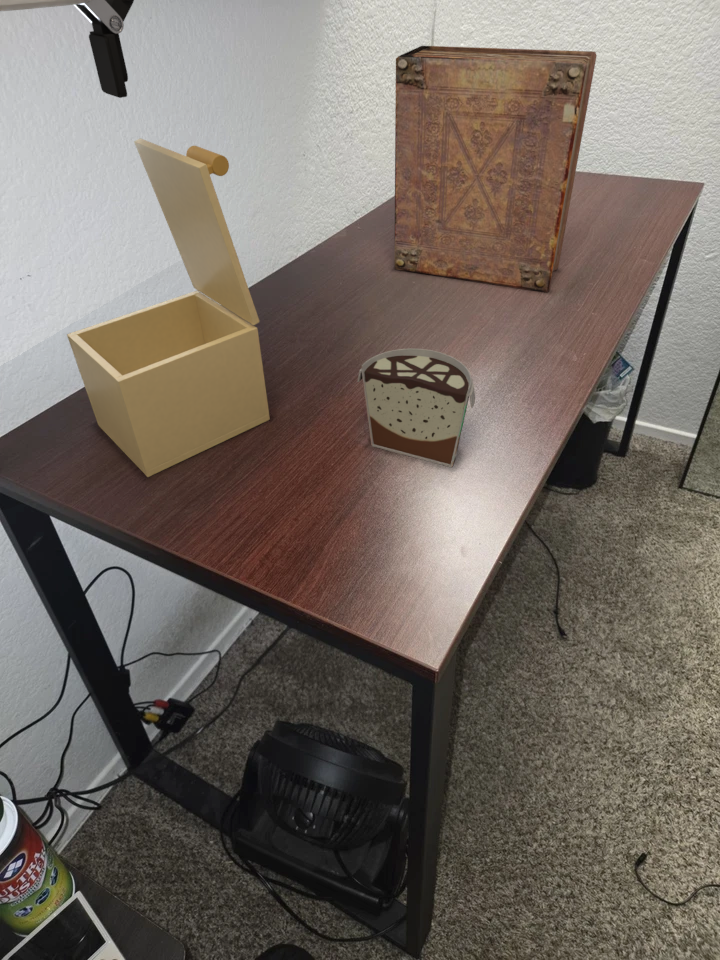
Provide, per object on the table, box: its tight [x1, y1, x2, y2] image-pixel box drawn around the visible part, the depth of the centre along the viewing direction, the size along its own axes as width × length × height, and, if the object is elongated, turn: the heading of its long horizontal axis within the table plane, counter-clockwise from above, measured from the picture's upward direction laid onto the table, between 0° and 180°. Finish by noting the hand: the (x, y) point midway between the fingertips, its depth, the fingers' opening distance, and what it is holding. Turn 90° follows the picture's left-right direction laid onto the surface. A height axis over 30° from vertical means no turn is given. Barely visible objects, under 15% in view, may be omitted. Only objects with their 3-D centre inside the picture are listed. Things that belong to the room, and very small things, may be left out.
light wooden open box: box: [66, 290, 271, 478], centre depth 73 cm, size 16×13×12 cm
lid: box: [133, 138, 260, 326], centre depth 67 cm, size 16×13×5 cm
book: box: [393, 45, 598, 294], centre depth 98 cm, size 25×9×30 cm, turn 67°
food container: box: [357, 348, 476, 468], centre depth 70 cm, size 12×6×10 cm, turn 65°
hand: (53, 105), depth 48 cm, fingers open, 9 cm apart
